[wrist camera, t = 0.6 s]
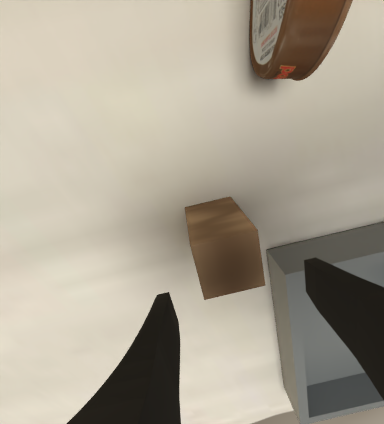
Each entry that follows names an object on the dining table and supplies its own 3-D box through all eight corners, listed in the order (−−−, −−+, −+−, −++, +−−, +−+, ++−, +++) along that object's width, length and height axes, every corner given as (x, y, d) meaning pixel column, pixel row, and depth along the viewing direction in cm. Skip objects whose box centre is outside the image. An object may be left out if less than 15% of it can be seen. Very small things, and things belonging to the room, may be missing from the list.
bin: (401, 217, 22) (447, 236, 18) (386, 363, 29) (417, 398, 25) (266, 249, 22) (285, 274, 19) (284, 387, 29) (300, 425, 26)
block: (230, 196, 20) (257, 230, 14) (237, 237, 22) (265, 285, 15) (184, 207, 20) (190, 246, 14) (194, 247, 22) (204, 299, 15)
